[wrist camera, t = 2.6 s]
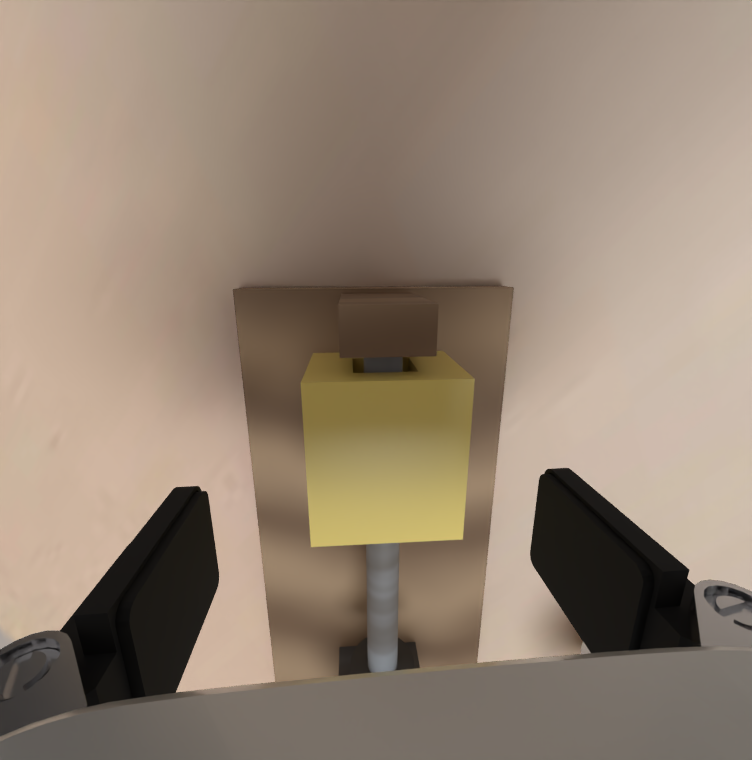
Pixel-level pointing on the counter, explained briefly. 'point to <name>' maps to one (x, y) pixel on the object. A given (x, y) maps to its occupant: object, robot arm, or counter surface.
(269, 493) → the cable rail
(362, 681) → the robot arm
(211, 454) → the counter surface
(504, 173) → the counter surface
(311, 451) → the sleeve
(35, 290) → the counter surface
